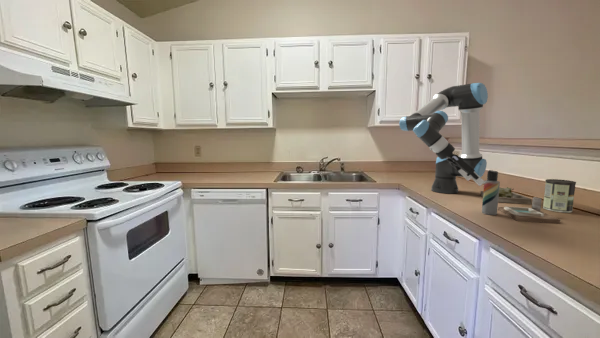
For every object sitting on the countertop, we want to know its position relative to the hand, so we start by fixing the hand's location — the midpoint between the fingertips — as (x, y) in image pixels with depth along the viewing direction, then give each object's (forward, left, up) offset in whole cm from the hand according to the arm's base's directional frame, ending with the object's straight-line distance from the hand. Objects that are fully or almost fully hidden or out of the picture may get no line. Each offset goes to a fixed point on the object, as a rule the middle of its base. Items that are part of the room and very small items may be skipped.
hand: (476, 181), depth 118 cm
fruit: (-34, +26, -15) cm, 46 cm away
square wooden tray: (-33, +27, -15) cm, 45 cm away
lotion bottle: (-1, +7, -15) cm, 17 cm away
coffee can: (-15, +41, -15) cm, 46 cm away
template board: (0, +21, -15) cm, 25 cm away
